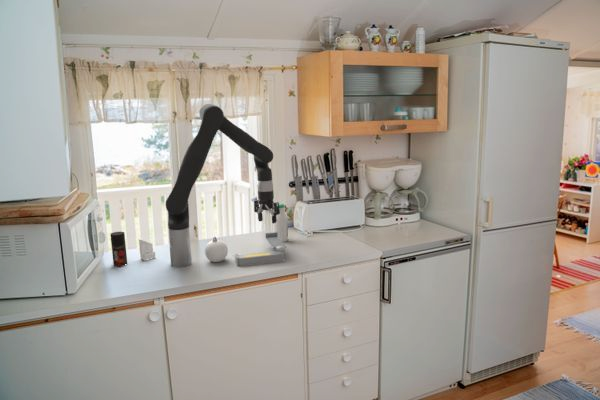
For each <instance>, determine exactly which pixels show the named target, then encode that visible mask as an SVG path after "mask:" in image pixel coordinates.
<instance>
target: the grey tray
mask: <svg viewBox="0 0 600 400" xmlns="http://www.w3.org/2000/svg"><path fill="white" fill-rule="evenodd" d="M264 253H270V254H271V255H262V256H253V257H244V256H246V255H255V254H264ZM232 257H233V259H234V261H235V264H236V266H237V267H245V266H253V265H263V264H272V263H281V262H285V261H286V260H285V259H284V250H282V251H278V250H272V251H271V250H270V251H261V252H251V253H244V254H243V253H242V254H239V253H234V254H233V255H232Z"/></svg>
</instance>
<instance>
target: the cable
mask: <svg viewBox="0 0 600 400" xmlns="http://www.w3.org/2000/svg"><path fill="white" fill-rule="evenodd" d="M262 255H271V254H270V253H264V254H255V255H246V256H244V257H253V256H262Z"/></svg>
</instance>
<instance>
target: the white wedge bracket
mask: <svg viewBox="0 0 600 400" xmlns="http://www.w3.org/2000/svg"><path fill="white" fill-rule="evenodd" d="M138 245H139V255H140V260H141V259H143V260H146V261H148V260H147V259H150V260H152V259H151V258H154V257H156V251H154V247H153V246H154V245H153V243H151V242H148V241H146V240H142V239H140V238H139V239H138ZM154 259H155V258H154ZM143 260H142V261H143Z"/></svg>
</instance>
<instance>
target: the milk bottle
mask: <svg viewBox="0 0 600 400" xmlns="http://www.w3.org/2000/svg"><path fill="white" fill-rule="evenodd" d="M279 210H280V214H278V215H276V218H277V221H276V223H274V224H273V223H272V233H273V232H277V234H278V238H279V239H280V240H281V241H282V242H283V243H285V242H287V241H288V240H289V236H288V234H289V232H288V229H289V227H288V226H289V225H288V217H287V214H286V212H285V204H284V203H279Z"/></svg>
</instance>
